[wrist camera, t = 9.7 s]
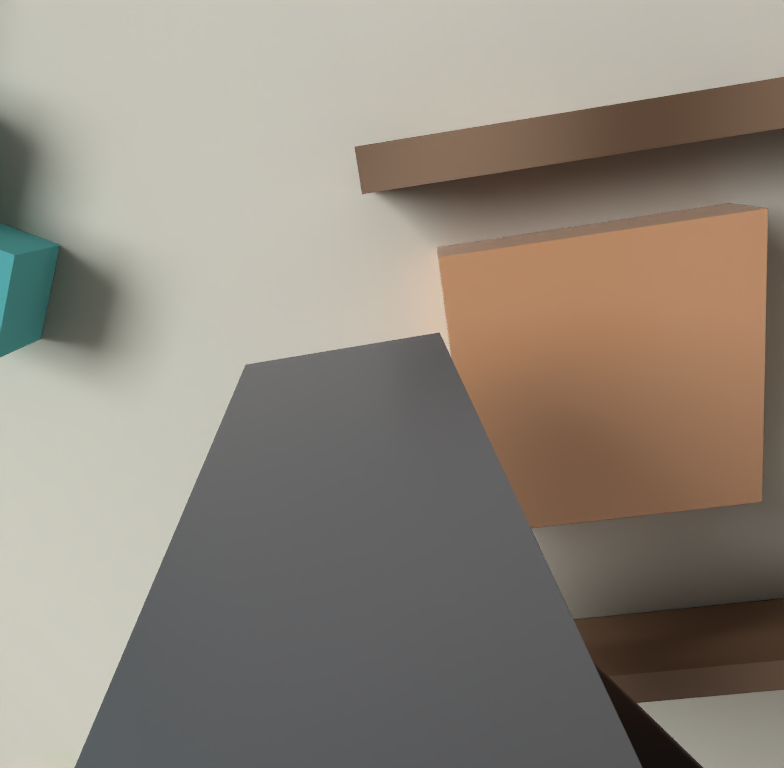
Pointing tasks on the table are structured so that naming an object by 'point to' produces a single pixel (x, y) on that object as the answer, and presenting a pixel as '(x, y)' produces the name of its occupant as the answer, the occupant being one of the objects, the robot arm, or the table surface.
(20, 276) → the alien figure
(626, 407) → the terracotta tile
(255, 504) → the grey matte slab
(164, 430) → the table surface
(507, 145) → the walnut bay
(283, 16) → the table surface
